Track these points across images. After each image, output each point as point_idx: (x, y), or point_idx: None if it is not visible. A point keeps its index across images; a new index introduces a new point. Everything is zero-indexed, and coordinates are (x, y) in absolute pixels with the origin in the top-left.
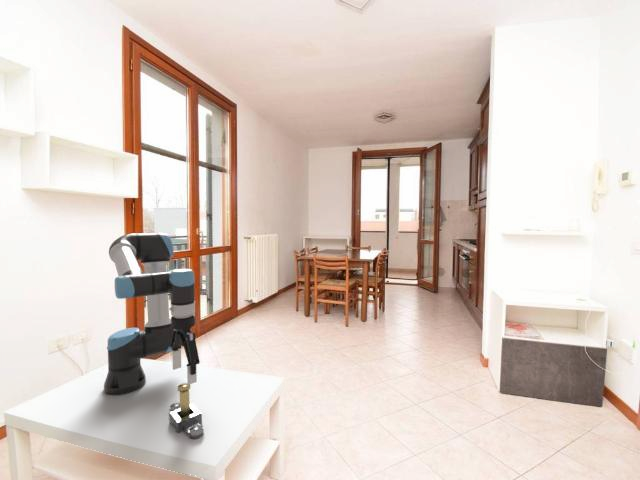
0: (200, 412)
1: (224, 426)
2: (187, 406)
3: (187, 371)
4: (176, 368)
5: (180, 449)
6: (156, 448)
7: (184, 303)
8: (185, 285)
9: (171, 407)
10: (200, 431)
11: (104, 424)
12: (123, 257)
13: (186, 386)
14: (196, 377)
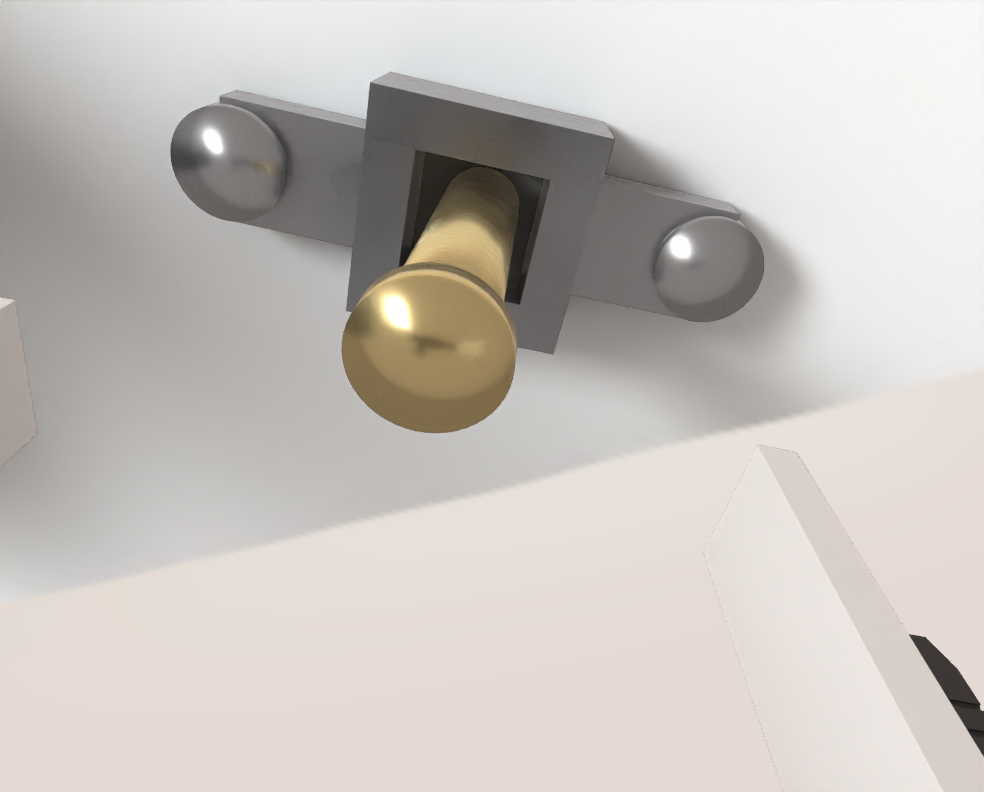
0: (596, 140)
1: (842, 16)
2: (509, 261)
3: (783, 763)
4: (26, 392)
5: (709, 392)
6: (561, 460)
7: None
8: None
9: (233, 215)
10: (761, 264)
11: (66, 507)
12: None
13: (478, 356)
14: (831, 510)
